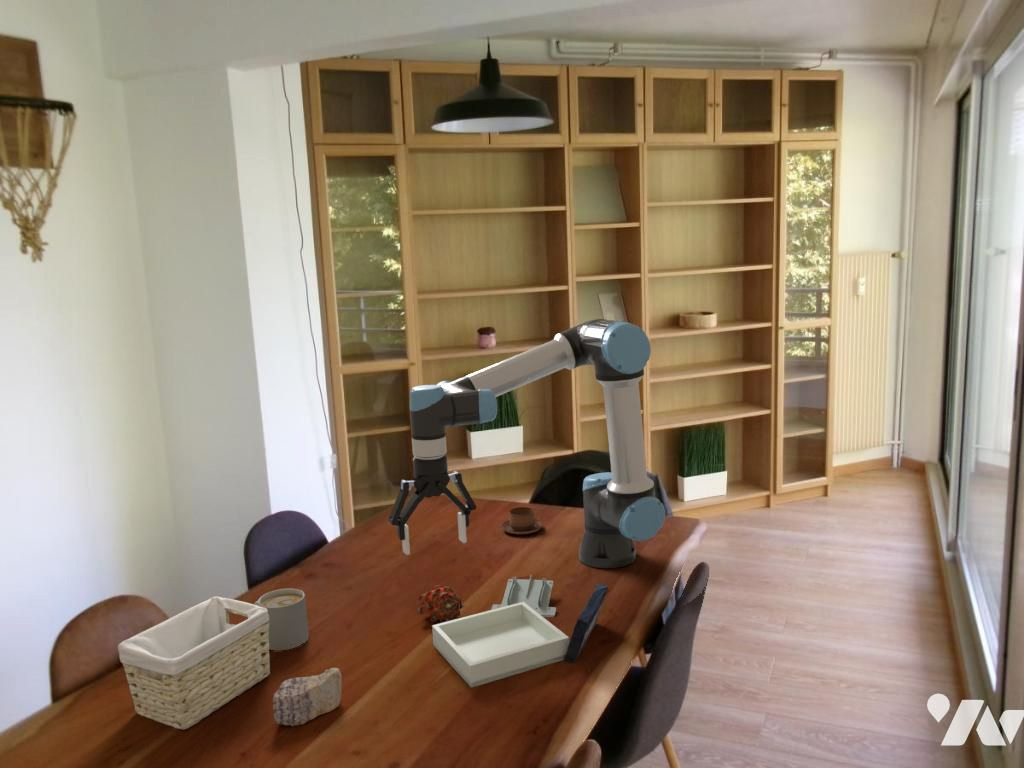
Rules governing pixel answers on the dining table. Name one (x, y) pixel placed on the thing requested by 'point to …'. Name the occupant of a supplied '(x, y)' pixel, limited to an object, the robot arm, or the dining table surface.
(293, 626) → the coffee mug
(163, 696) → the storage basket
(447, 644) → the tray
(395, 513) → the robot arm
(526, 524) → the cup and saucer
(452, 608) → the dragon fruit
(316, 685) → the mineral specimen
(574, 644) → the vhs cassette tape
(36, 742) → the dining table surface
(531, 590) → the metal bracket
